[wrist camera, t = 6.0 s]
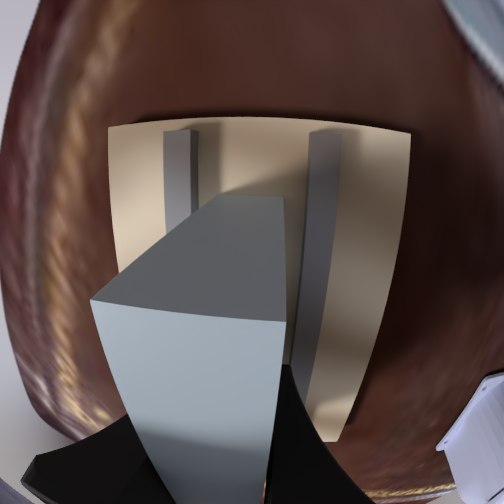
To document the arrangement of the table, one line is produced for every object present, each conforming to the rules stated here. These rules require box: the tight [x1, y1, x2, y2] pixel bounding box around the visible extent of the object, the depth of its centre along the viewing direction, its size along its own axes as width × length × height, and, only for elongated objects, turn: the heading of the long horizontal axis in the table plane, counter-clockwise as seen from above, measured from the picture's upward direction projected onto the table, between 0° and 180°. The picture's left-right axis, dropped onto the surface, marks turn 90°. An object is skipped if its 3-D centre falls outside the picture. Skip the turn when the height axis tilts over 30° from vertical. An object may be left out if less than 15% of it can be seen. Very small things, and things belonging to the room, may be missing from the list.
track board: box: [108, 117, 411, 442], centre depth 13 cm, size 18×12×2 cm, turn 178°
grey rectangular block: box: [90, 194, 286, 504], centre depth 9 cm, size 12×2×8 cm, turn 178°
